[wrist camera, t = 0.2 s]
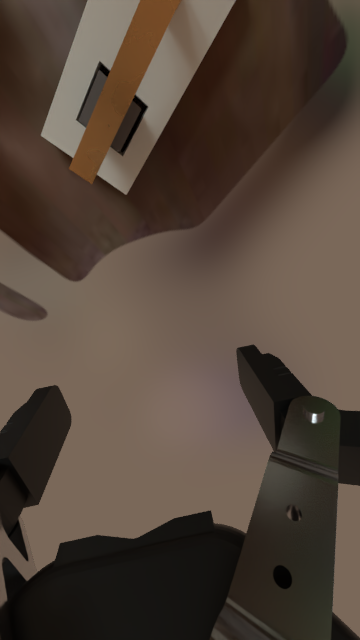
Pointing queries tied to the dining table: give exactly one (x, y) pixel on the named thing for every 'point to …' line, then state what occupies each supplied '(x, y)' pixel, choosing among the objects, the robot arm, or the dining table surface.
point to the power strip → (155, 88)
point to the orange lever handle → (122, 83)
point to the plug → (127, 121)
